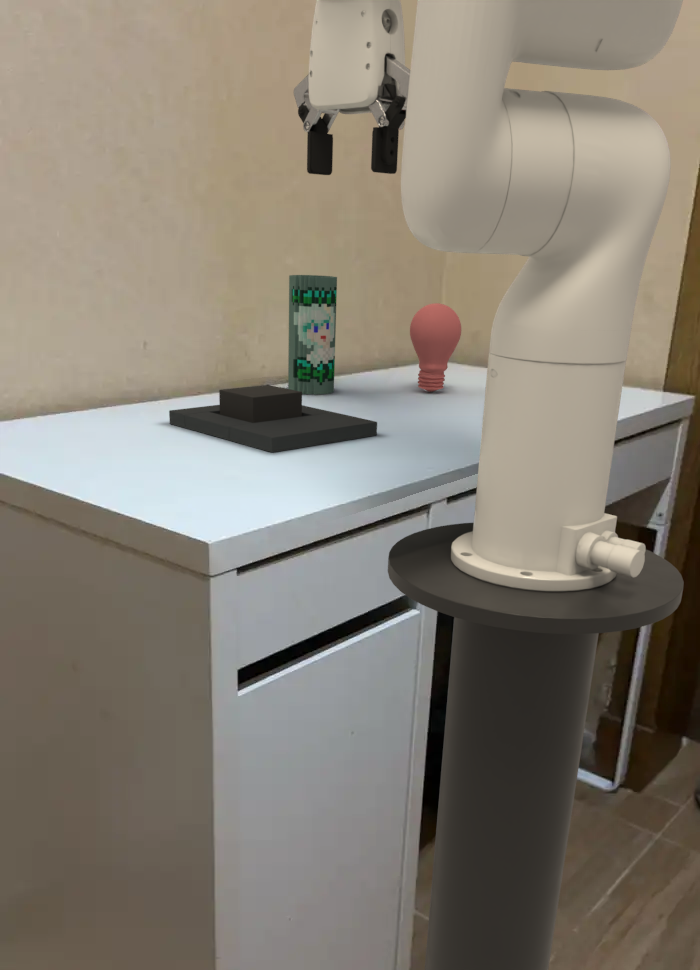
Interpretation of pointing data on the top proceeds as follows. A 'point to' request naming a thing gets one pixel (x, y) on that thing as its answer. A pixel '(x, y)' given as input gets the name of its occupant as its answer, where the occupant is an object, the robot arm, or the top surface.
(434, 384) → the light bulb
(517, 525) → the robot arm
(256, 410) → the black block
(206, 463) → the top surface
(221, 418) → the base pad
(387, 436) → the top surface
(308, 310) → the can
